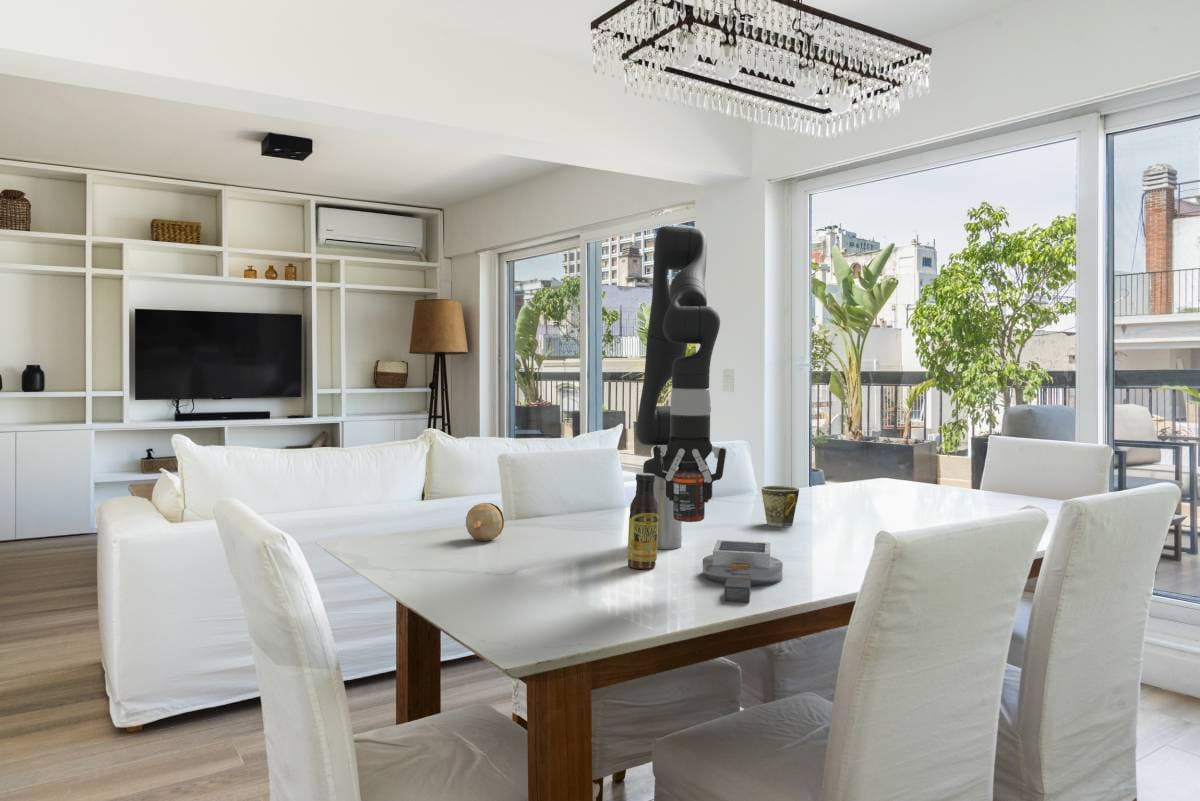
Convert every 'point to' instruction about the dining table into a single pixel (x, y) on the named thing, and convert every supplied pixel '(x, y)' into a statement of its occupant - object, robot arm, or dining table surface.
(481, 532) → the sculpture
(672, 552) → the dining table surface
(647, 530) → the sauce bottle
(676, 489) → the supplement bottle
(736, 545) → the grey platform stand
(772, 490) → the ceramic cup
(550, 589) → the dining table surface
